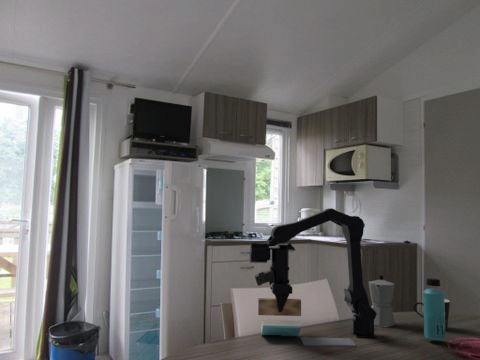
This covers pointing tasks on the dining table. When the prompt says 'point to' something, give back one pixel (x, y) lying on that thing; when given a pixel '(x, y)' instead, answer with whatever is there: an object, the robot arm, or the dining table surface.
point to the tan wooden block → (270, 307)
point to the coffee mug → (447, 305)
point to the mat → (327, 342)
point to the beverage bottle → (434, 311)
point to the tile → (280, 327)
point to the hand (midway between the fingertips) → (279, 310)
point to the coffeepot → (382, 301)
